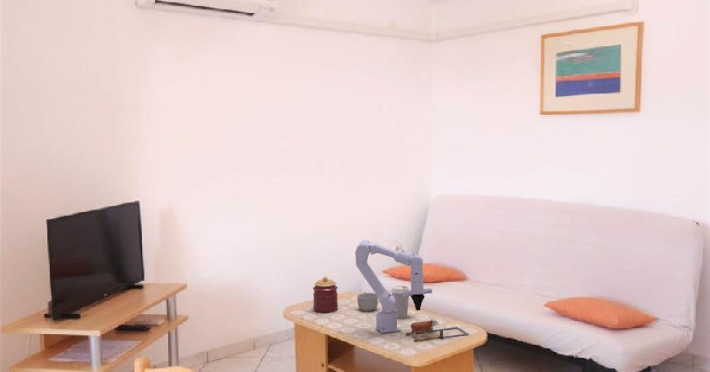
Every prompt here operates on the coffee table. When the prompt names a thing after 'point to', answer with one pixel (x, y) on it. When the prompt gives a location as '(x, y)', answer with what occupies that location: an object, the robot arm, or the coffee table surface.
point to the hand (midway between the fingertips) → (417, 309)
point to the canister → (325, 296)
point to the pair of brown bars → (427, 337)
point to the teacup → (367, 301)
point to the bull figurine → (423, 327)
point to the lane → (453, 335)
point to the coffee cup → (401, 300)
